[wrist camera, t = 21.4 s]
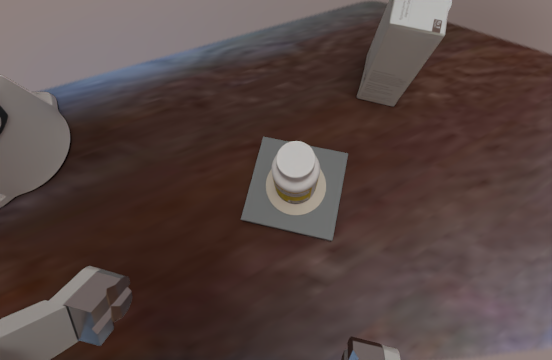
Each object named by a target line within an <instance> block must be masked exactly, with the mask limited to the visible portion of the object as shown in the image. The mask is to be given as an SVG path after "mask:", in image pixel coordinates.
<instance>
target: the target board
mask: <svg viewBox="0 0 552 360" xmlns="http://www.w3.org/2000/svg"><path fill="white" fill-rule="evenodd" d="M286 143H288V141H282V140H277V139H272V138H267V137H263V140H262V143H261V147H260V151H259V154H258V158H257V162H256V165H255V169H254V173H253V176H252V180H251V184H250V187H249V191H248V195H247V198H246V202H245V206H244V209H243V213H242V217H241V220H242V221H246V222H250V223H255V224H259V225H263V226H268V227H272V228H276V229H280V230H285V231H289V232H293V233H297V234H302V235H306V236H310V237H315V238H319V239H323V240H327V241H332V240H333V235H334V229H335V224H336V218H337V213H338V207H339V202H340V196H341V190H342V185H343V179H344V174H345V168H346V163H347V157H348V153H343V152H338V151H333V150H328V149H323V148H318V147H313V146H310V147H311V148H312V150H313V152H314V154H315V155H316V157H317V159H318V161H319V164H320V174H319V178H318V182H317V186H316V189H315V192H314V194H313V195H312V197H311V198H310V199H309V200H307V201H306V202H304V203H301V204H290V203H288V202H286V201H284V200H283V199H281V198H280V196H279V195H278V193H277V191H276V189H275V185H274V181H273V177H272V170H271V169H272V162H273V160H274V158H275V156H276V155H277V153H278V151H279V149H280V148H281V147H282V146H283V145H285V144H286Z"/></svg>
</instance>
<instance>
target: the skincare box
mask: <svg viewBox="0 0 552 360" xmlns="http://www.w3.org/2000/svg"><path fill="white" fill-rule="evenodd" d="M451 4H452V0H389V2H388V5H387V7H386V10H385V12H384V15H383V17H382V19H381V22H380V24H379V27H378V29H377V32H376V34H375V37H374V39H373V42H372V44H371V47H370V49H369V51H368V54H367V57H366V63H365V68H364V73H363V76H362V80H361V84H360V87H359V91H358V93H357V98H358V99H362V100H367V101H371V102H375V103H379V104H384V105H388V106H393V107H394V106H395V104H396V103H397V101H398V100H399V99H400V97H401V96H402V94H403V93H404V92H405V90H406V89H407V87H408V86H409V85H410V83H411V82H412V80H413V79H414V78H415V76H416V75H417V73H418V72H419V71H420V69H421V68H422V66H423V65H424V64H425V62H426V61H427V59H428V58H429V57H430V55H431V54H432V53H433V51H434V50H435V48H436V47H437V46H438V44H439V43H440V41H441V40H442V39H443V37H444V36H445V31H446V24H447V17H448V11H449V9H450V7H451Z"/></svg>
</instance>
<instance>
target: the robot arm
mask: <svg viewBox="0 0 552 360" xmlns="http://www.w3.org/2000/svg"><path fill="white" fill-rule="evenodd" d="M69 145H70V131H69V127H68V124H67V122H66V121H65V119H64V118H63V116H62V115H61V114H60V112H59V111H58V106H57V100H56V98H55V96H54V95H52V94H50V93H48V92H30V91H29V90H27V89H25V88H24V87H22V86H20V85H19V84H17V83H15V82H13V81H12V80H10V79H8V78H7V77H5V76H3V75H1V74H0V208H1V207H2V206H4V205H5V204H7V203H8V202H9V201H11V200H12V199H13V198H14V197H16V196H18V195H21V194H24V193H26V192H29V191H32V190H34V189H36V188H38V187H39V186H41V185H42V184H44V183H45V182H47V181H48V180H49V179H50V178H51V177H52V176H53V175H54V174H55V173H56V172H57V171H58V169H59V168H60V167H61V165H62V163H63V162H64V160H65V158H66V156H67V153H68V150H69ZM129 284H130V281H129V277H127V276H124V275H120V274H117V273H113V272H110V271H106V270H103V269H100V268H96V267H92V266H88V267H86V268H84V269H83V270H82V271H80V272H79V273H78V274H77V275H76V276H75V277H74V278H73V279H72V280H71V281H70V282H69V283H67V284H66V285H65V286H64V287H63V288H62V289H61V290H60V291H59V292H58V293H57V294H56V295H54V296H53V297H52V298H51V299H50V300H49V301H46V300H44V301H41V302H39V303H37V304H34V305H32V306H30V307H27V308H25V309H23V310H20V311H18V312H16V313H13V314H11V315H9V316H6V317H4V318H2V319H0V360H50V359H52V358H53V357H55V356H56V355H58V354H60V353H61V352H63V351H64V350H66V349H67V348H69V347H70V346H72V345H74V344H75V343H77V342H78V340H80V341H83V342H87V343H91V344H94V345H98V346H101V345H102V344H103V342H104V341H105V340H106V338H107V337H108V336H109V334H110V333H111V332H112V330H113V329H114V322H115V321H117V320H119V319H121V318H122V317H123V316H124V315H125V313H126V312H127V311H128V308H129V306H130V304H131V301H132V292H131V290H130V289H129V288H128V287H127V286H128V285H129ZM341 360H401V359H400V354H399V351H398V350H397V349H396V348H393V347H388V346H384V345H381V344H379V343H375V342H371V341H367V340H363V339H359V338H355V337H350V338H349V340H348V349H346V350H344V353H343V355H342V359H341Z"/></svg>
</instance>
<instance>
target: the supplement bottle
mask: <svg viewBox="0 0 552 360" xmlns="http://www.w3.org/2000/svg"><path fill="white" fill-rule="evenodd" d="M271 170H272V177H273V181H274V185H275V189H276V191H277V193H278V195H279V196H280V198H281V199H283V200H284V201H286V202H288V203H290V204H301V203H304V202H306V201H307V200H309V199H310V198H311V197H312V195H313V194H314V192H315V189H316V186H317V182H318V178H319V174H320V164H319V161H318V159H317V157H316V155H315V154H314V152H313V150H312V148H311V147H310V146H309V145H307V144H306V143H303V142H300V141H292V142H288V143H286V144H285V145H283V146H282V147H281V148H280V149H279V151H278V153H277V155H276V156H275V158H274V160H273V162H272V169H271Z"/></svg>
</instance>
